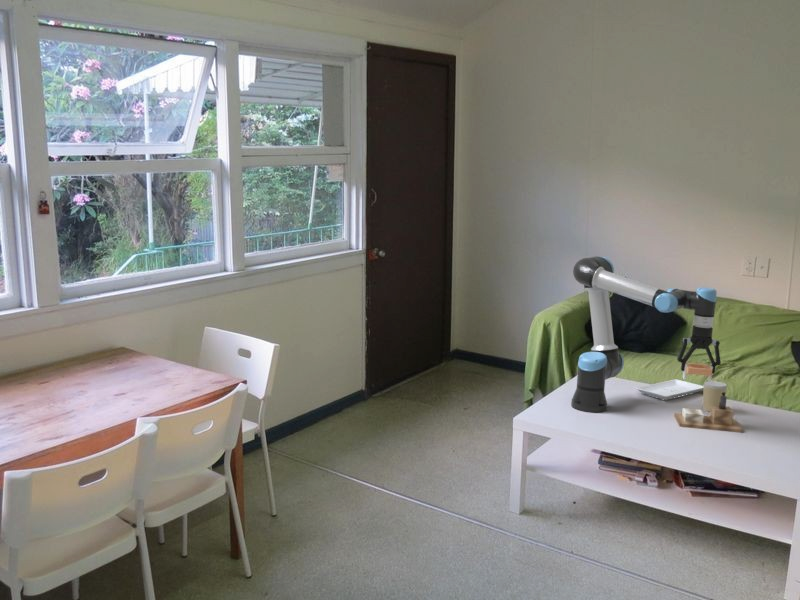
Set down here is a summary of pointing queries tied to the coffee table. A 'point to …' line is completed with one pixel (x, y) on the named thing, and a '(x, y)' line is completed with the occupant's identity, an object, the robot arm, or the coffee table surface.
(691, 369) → the square frame
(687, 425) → the stand
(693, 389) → the tray
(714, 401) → the coffee cup
